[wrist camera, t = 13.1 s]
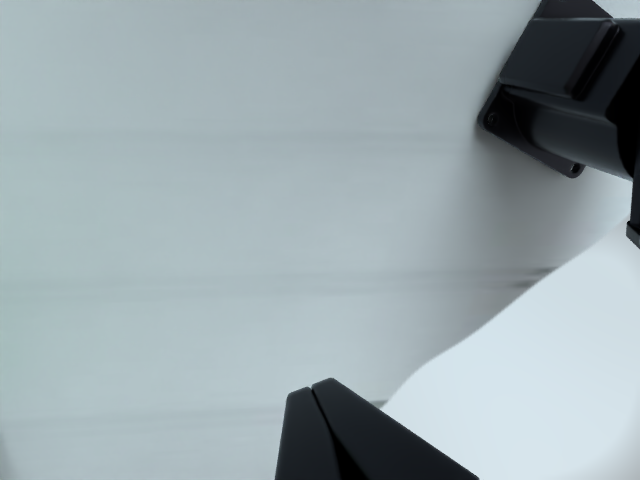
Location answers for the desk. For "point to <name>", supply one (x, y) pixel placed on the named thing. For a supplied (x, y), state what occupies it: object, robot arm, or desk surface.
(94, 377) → the desk surface
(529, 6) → the desk surface
